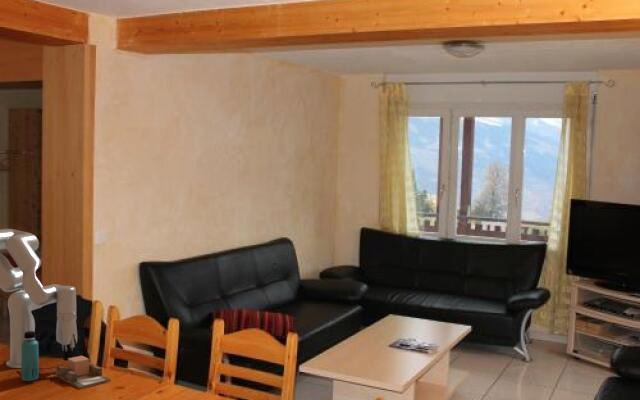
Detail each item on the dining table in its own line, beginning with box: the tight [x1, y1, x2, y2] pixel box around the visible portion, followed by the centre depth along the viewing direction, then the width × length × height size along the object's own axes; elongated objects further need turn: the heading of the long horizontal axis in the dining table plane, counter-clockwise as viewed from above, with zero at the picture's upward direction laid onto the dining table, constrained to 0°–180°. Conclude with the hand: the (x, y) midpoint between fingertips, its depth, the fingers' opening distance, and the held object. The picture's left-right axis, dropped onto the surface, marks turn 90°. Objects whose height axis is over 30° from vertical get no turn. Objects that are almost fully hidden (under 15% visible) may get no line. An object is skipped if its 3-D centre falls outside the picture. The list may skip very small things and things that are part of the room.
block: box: [67, 355, 90, 376], centre depth 271 cm, size 6×6×6 cm
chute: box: [55, 361, 112, 390], centre depth 268 cm, size 20×13×4 cm, turn 46°
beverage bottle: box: [20, 331, 40, 382], centre depth 262 cm, size 6×7×20 cm
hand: (67, 359), depth 278 cm, fingers closed
